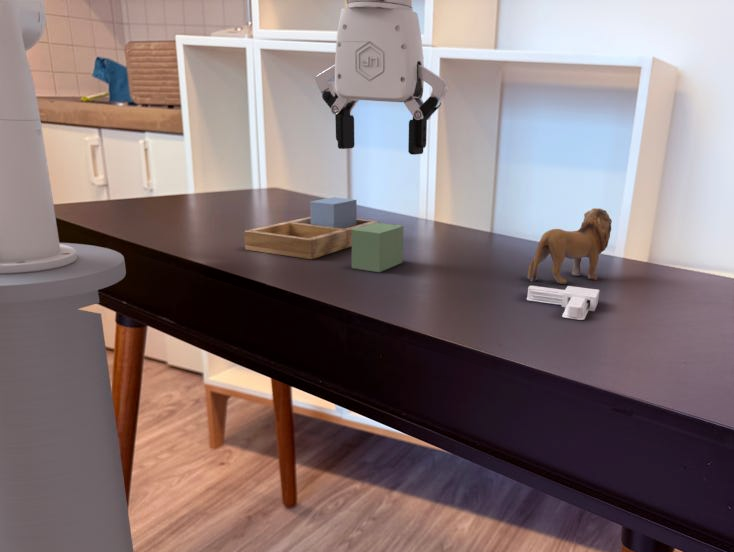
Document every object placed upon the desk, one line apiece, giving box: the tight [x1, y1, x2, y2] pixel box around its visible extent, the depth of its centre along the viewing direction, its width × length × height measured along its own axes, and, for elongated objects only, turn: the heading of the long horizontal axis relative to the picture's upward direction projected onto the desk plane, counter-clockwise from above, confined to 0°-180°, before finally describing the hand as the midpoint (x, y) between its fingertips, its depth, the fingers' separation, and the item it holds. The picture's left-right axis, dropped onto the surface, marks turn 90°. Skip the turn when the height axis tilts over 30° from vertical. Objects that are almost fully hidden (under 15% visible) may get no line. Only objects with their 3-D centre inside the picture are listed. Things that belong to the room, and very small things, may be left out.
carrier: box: [243, 216, 380, 260], centre depth 99 cm, size 20×10×3 cm, turn 162°
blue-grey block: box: [309, 196, 357, 229], centre depth 102 cm, size 7×4×5 cm, turn 162°
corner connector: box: [526, 285, 600, 321], centre depth 74 cm, size 8×8×2 cm
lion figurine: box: [527, 207, 613, 285], centre depth 87 cm, size 15×5×9 cm, turn 136°
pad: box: [351, 222, 404, 273], centre depth 87 cm, size 7×4×5 cm, turn 162°
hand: (380, 151), depth 84 cm, fingers open, 9 cm apart
